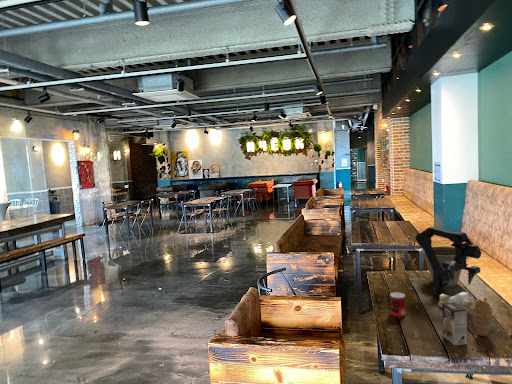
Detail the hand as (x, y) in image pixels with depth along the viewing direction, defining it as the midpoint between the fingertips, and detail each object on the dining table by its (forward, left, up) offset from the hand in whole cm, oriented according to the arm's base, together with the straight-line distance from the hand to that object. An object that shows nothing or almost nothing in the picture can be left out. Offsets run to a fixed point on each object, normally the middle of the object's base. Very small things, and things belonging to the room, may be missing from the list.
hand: (460, 282), depth 216 cm
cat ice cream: (+26, -31, -12) cm, 42 cm away
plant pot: (-24, +25, -12) cm, 37 cm away
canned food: (-14, -38, -12) cm, 42 cm away
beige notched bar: (+4, -10, -12) cm, 16 cm away
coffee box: (+20, -44, -12) cm, 50 cm away
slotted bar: (+4, -10, -12) cm, 16 cm away
